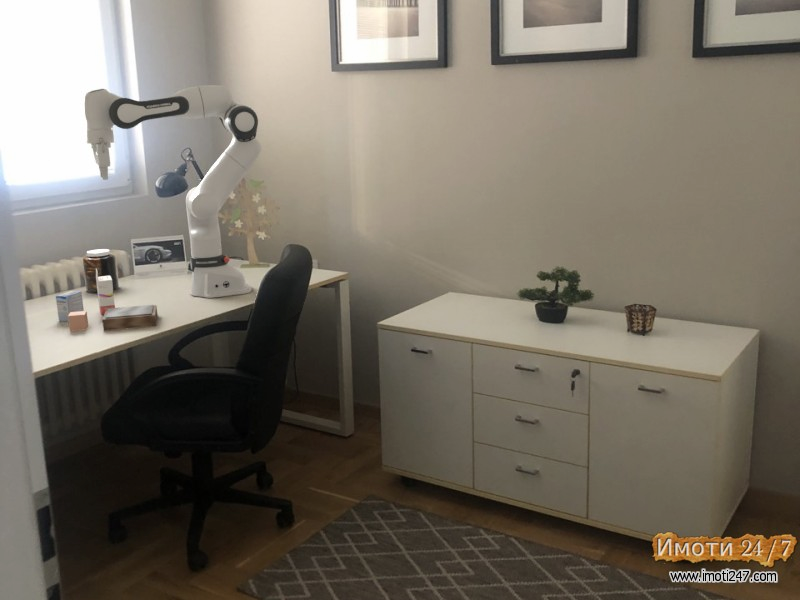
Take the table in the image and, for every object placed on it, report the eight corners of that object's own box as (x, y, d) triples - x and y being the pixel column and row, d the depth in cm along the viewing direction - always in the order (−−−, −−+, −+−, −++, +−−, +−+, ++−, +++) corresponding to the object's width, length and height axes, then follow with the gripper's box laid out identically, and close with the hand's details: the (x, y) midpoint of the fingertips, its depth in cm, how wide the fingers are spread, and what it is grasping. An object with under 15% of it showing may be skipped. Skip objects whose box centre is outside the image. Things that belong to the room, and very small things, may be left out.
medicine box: (73, 315, 288) (70, 290, 286) (84, 315, 287) (81, 290, 285) (58, 321, 281) (55, 295, 278) (69, 321, 279) (66, 296, 277)
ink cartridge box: (116, 313, 289) (111, 271, 285) (101, 315, 287) (96, 272, 283) (114, 307, 296) (109, 266, 293) (99, 309, 295) (94, 268, 291)
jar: (109, 293, 319) (104, 254, 315) (80, 292, 321) (75, 253, 317) (124, 286, 330) (119, 248, 327) (96, 285, 332) (92, 248, 329)
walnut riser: (157, 315, 284) (156, 303, 283) (155, 326, 271) (154, 314, 270) (107, 319, 281) (106, 307, 280) (103, 330, 267) (102, 318, 266)
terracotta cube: (88, 325, 274) (86, 310, 273) (86, 329, 269) (84, 314, 268) (72, 327, 273) (70, 312, 272) (70, 331, 268) (68, 316, 267)
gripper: (112, 138, 281) (116, 180, 284) (107, 136, 299) (111, 175, 302) (92, 139, 278) (96, 181, 282) (88, 137, 297) (93, 176, 300)
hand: (104, 178), depth 292 cm, fingers open, 8 cm apart
